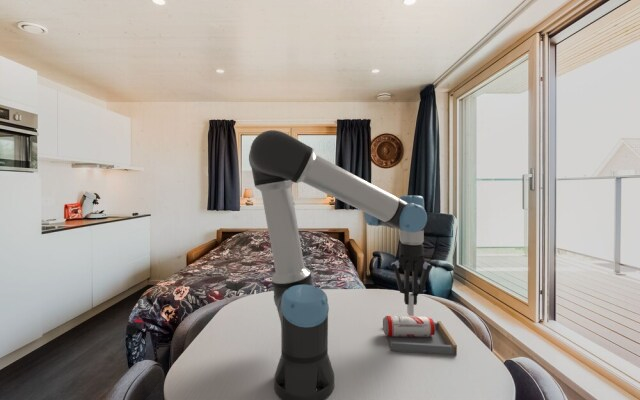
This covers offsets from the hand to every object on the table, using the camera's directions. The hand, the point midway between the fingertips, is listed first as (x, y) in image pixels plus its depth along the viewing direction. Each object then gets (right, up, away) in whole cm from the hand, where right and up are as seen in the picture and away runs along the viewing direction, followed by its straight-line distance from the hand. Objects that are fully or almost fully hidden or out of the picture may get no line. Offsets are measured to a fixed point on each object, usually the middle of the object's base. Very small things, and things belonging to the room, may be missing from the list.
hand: (410, 313), depth 95 cm
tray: (+2, -8, 0) cm, 9 cm away
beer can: (-8, -5, +1) cm, 10 cm away
